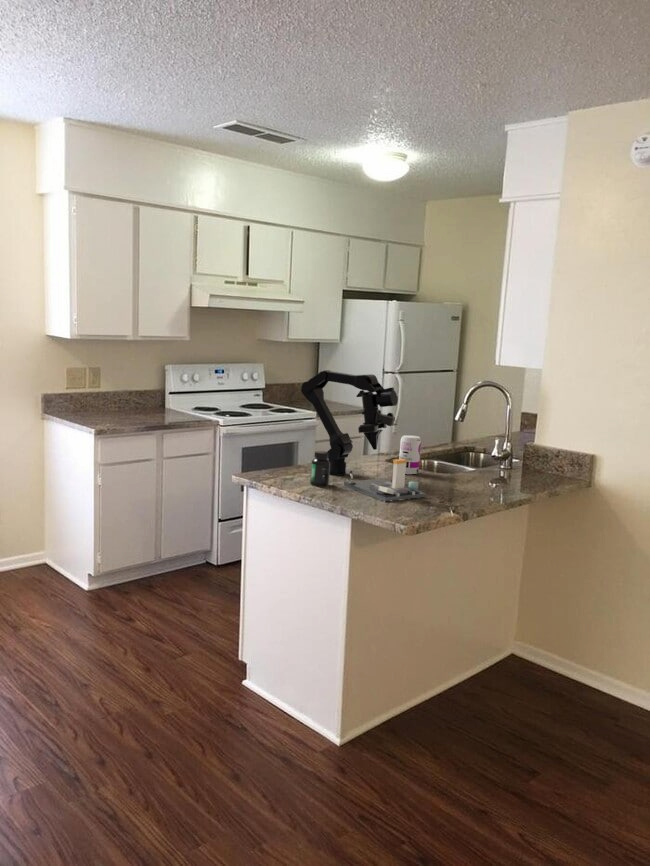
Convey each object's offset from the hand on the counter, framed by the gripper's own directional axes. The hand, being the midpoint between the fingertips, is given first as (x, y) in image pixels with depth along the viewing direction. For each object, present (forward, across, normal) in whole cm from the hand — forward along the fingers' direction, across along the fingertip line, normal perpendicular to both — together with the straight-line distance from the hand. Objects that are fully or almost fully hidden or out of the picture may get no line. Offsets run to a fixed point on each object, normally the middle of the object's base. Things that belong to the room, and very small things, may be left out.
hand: (375, 449), depth 272 cm
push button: (+14, -15, -16) cm, 26 cm away
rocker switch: (+12, -24, -9) cm, 29 cm away
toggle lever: (+9, -15, +6) cm, 18 cm away
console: (+14, -14, -5) cm, 21 cm away
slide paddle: (+14, -19, -12) cm, 26 cm away
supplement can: (+13, +22, -7) cm, 26 cm away
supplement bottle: (+10, -17, +17) cm, 26 cm away
